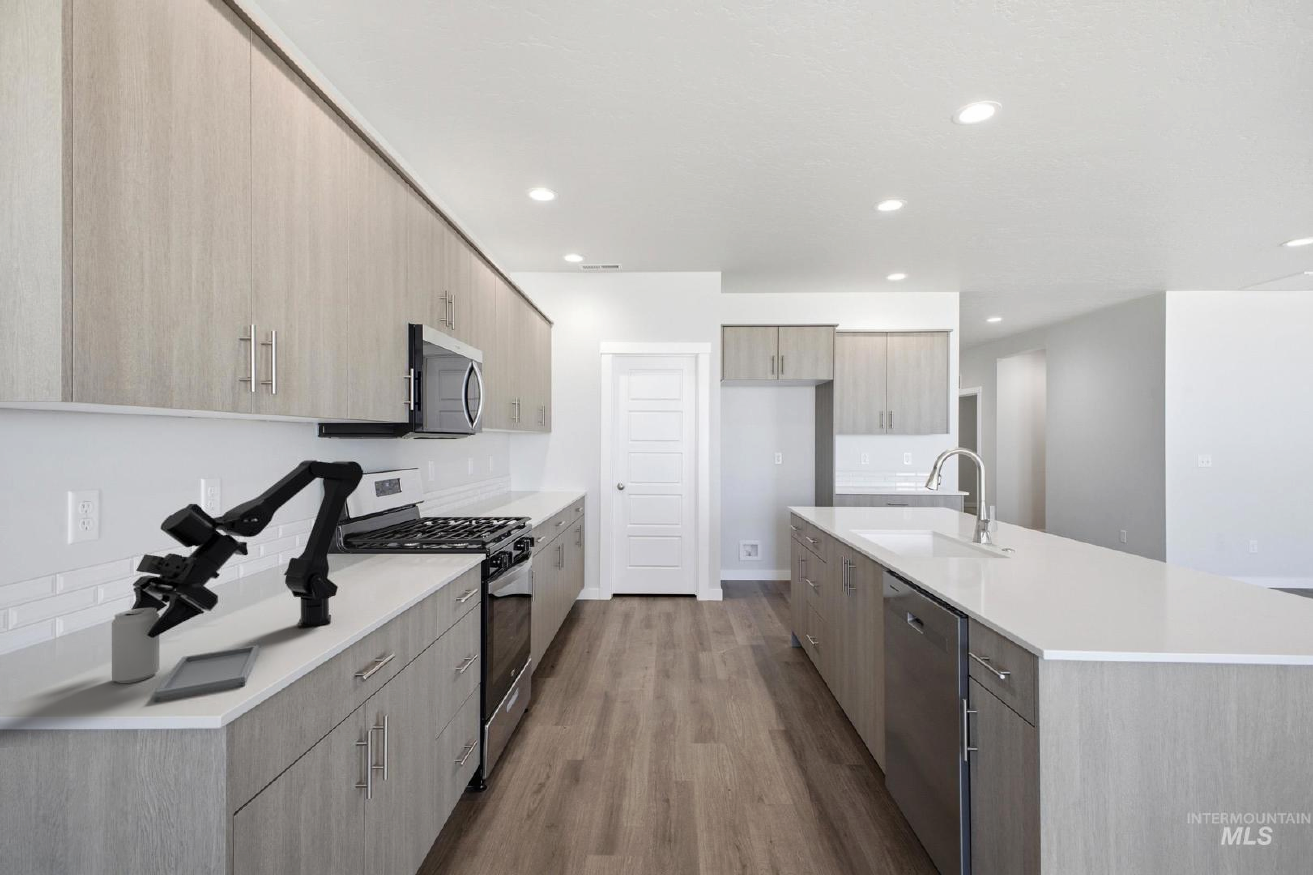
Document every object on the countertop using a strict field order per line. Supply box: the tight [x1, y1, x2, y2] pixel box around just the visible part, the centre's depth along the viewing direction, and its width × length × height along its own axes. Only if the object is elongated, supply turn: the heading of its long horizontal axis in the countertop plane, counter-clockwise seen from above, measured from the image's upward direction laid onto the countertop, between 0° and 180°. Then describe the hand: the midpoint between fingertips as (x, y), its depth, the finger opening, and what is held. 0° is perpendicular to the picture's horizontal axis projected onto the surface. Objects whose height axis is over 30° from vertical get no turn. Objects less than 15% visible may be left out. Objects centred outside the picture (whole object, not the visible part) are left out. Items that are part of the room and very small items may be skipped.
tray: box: [154, 644, 260, 703], centre depth 103 cm, size 18×12×2 cm, turn 29°
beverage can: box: [111, 608, 161, 684], centre depth 102 cm, size 6×6×12 cm
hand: (136, 633), depth 102 cm, fingers open, 9 cm apart
